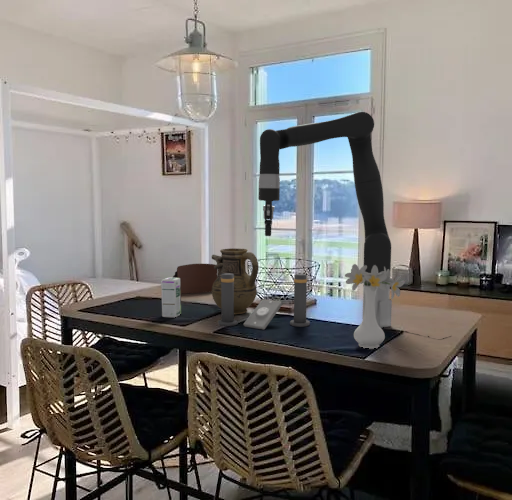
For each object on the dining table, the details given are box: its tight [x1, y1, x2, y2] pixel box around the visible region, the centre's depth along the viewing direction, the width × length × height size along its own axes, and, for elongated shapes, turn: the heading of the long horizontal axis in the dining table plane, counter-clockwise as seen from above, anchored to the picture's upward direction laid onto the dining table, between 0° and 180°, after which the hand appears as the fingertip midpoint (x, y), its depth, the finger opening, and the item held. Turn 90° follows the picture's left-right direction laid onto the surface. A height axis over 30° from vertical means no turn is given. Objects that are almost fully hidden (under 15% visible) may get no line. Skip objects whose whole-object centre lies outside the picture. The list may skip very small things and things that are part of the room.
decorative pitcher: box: [211, 247, 259, 315], centre depth 209 cm, size 22×18×25 cm
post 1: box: [217, 273, 238, 327], centre depth 191 cm, size 7×7×18 cm
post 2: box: [289, 273, 311, 328], centre depth 190 cm, size 7×7×18 cm
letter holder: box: [172, 263, 218, 295], centre depth 257 cm, size 10×20×14 cm, turn 111°
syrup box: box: [160, 276, 182, 318], centre depth 204 cm, size 6×6×14 cm
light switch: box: [243, 298, 283, 331], centre depth 191 cm, size 8×6×14 cm
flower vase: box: [344, 263, 406, 350], centre depth 162 cm, size 13×18×25 cm
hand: (268, 235), depth 191 cm, fingers closed
